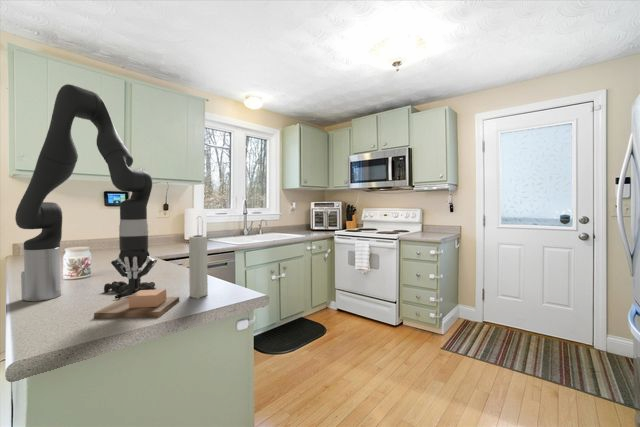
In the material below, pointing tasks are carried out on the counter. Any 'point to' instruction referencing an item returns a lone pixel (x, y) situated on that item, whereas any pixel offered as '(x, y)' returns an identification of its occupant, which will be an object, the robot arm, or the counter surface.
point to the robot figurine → (127, 288)
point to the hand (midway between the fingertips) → (134, 289)
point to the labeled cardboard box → (147, 298)
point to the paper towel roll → (198, 266)
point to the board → (135, 309)
